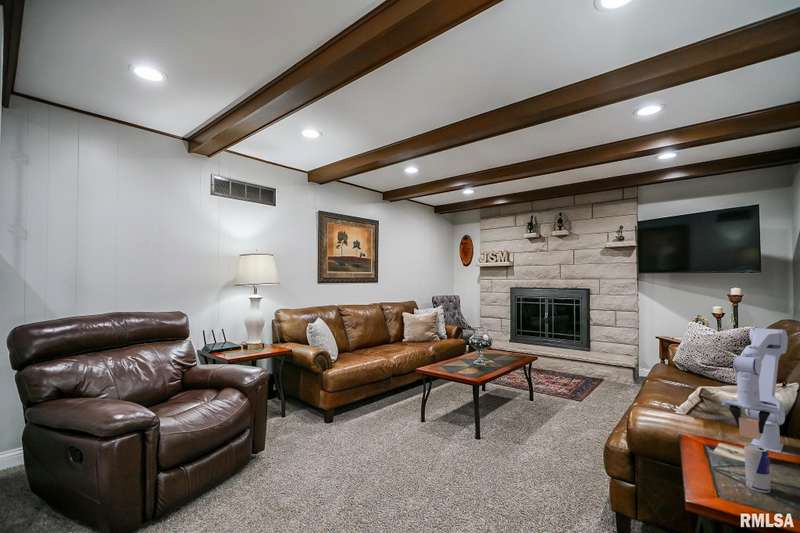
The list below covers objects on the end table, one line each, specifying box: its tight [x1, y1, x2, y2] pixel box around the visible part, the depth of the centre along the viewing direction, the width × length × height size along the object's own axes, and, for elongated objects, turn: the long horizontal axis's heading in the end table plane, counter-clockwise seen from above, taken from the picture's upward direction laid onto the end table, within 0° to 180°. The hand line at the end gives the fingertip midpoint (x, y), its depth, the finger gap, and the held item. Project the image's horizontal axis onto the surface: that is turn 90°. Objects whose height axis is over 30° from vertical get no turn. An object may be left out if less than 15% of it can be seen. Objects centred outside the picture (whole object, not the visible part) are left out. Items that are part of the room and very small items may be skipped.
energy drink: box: [743, 443, 772, 494], centre depth 113 cm, size 5×5×12 cm
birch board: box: [711, 442, 745, 463], centre depth 136 cm, size 13×9×1 cm
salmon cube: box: [738, 414, 762, 440], centre depth 132 cm, size 5×5×6 cm
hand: (750, 430), depth 132 cm, fingers closed on salmon cube, 5 cm apart
